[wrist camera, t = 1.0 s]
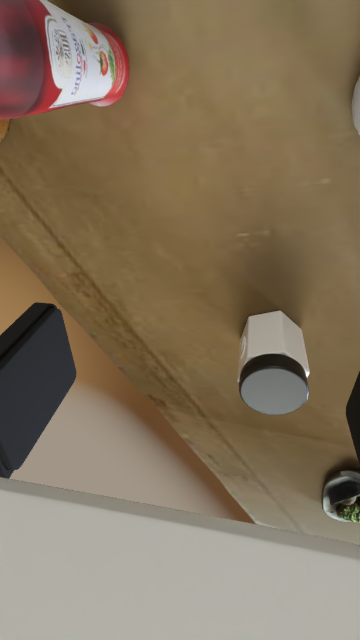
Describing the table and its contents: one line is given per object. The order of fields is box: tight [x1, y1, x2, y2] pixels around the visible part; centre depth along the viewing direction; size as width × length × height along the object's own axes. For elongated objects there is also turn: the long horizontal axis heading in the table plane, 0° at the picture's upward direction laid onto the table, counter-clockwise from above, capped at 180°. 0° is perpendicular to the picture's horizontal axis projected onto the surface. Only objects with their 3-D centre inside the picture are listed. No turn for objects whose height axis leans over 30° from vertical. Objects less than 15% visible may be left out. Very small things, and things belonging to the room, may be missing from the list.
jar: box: [238, 311, 310, 415], centre depth 45 cm, size 9×8×12 cm
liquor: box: [0, 0, 129, 119], centre depth 24 cm, size 7×7×28 cm
